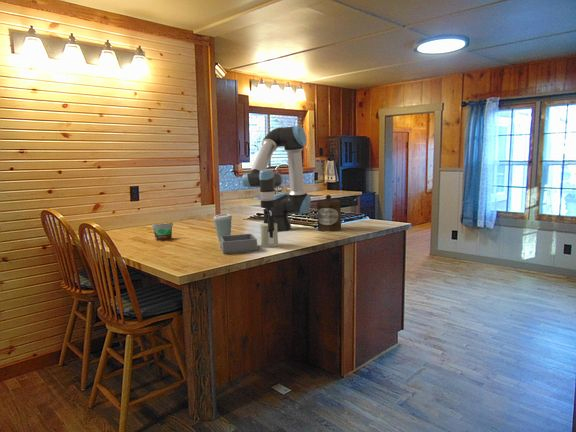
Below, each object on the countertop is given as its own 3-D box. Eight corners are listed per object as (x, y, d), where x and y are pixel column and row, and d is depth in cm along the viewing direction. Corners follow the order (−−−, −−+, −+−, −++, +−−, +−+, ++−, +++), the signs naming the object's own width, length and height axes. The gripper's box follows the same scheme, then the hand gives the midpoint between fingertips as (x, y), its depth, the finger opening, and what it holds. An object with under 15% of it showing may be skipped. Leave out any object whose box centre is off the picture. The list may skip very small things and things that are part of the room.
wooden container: (315, 231, 255) (314, 196, 252) (320, 227, 269) (319, 193, 266) (339, 231, 251) (338, 196, 248) (343, 227, 265) (342, 193, 262)
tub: (252, 244, 224) (251, 233, 223) (257, 250, 207) (256, 239, 207) (220, 247, 220) (219, 236, 219) (223, 254, 203) (222, 242, 203)
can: (262, 247, 214) (261, 225, 213) (259, 244, 223) (258, 222, 221) (279, 246, 216) (278, 223, 214) (276, 243, 225) (275, 221, 223)
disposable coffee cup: (229, 242, 231) (228, 216, 229) (211, 242, 233) (210, 216, 231) (235, 238, 241) (234, 213, 239) (218, 238, 244) (216, 213, 242)
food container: (153, 241, 242) (152, 225, 240) (152, 240, 247) (151, 223, 246) (175, 239, 246) (174, 223, 245) (174, 237, 252) (172, 221, 250)
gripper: (257, 198, 226) (258, 238, 229) (264, 202, 205) (266, 246, 208) (270, 197, 227) (272, 237, 231) (279, 201, 207) (280, 245, 210)
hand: (269, 241), depth 219 cm, fingers closed on can, 9 cm apart
